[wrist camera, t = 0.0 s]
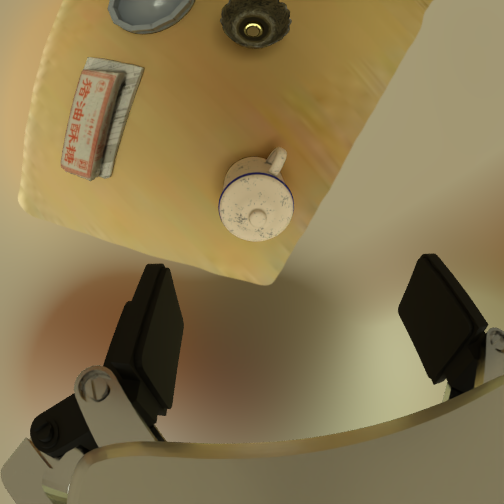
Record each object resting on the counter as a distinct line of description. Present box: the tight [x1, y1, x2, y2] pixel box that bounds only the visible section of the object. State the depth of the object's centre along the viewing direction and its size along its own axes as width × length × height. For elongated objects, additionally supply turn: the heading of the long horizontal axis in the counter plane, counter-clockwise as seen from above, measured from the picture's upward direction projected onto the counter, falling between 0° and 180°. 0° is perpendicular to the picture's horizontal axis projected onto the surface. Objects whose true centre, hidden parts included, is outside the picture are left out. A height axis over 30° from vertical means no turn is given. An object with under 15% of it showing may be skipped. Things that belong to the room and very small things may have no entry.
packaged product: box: [61, 57, 144, 181], centre depth 30 cm, size 18×5×10 cm
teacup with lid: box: [219, 147, 294, 241], centre depth 34 cm, size 12×9×12 cm
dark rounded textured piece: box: [220, 0, 292, 48], centre depth 23 cm, size 8×7×8 cm
